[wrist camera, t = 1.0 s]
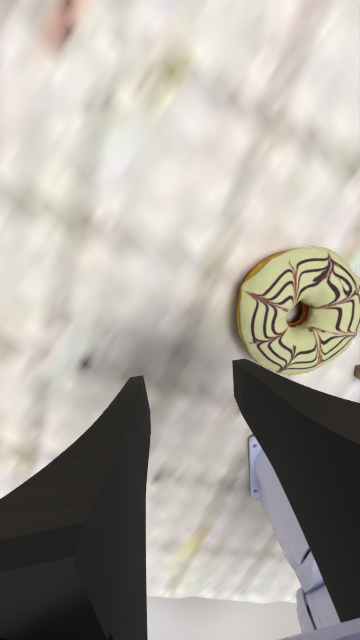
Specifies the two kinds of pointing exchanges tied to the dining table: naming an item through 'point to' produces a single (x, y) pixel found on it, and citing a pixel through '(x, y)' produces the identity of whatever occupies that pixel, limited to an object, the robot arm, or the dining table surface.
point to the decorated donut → (318, 309)
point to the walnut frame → (357, 371)
